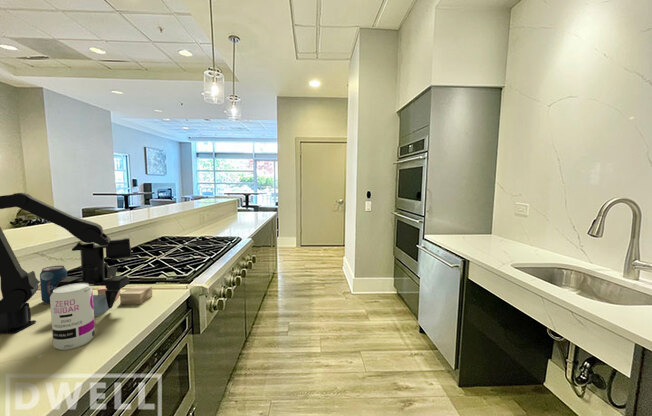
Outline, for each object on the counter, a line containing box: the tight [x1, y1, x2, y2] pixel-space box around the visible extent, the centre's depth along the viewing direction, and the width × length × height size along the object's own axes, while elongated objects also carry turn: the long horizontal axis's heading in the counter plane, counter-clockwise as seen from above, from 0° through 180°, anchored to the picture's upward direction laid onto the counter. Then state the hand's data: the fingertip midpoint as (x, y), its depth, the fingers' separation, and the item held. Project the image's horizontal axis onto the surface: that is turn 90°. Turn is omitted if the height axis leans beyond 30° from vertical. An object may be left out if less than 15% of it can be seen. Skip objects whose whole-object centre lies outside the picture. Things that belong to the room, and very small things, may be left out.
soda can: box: [39, 265, 68, 304], centre depth 99 cm, size 7×7×12 cm
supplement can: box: [49, 283, 96, 351], centre depth 73 cm, size 8×8×15 cm
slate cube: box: [93, 294, 110, 317], centre depth 91 cm, size 5×5×5 cm
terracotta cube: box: [97, 286, 121, 302], centre depth 101 cm, size 5×5×5 cm
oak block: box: [119, 285, 153, 305], centre depth 101 cm, size 7×7×4 cm
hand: (95, 308), depth 91 cm, fingers open, 9 cm apart
